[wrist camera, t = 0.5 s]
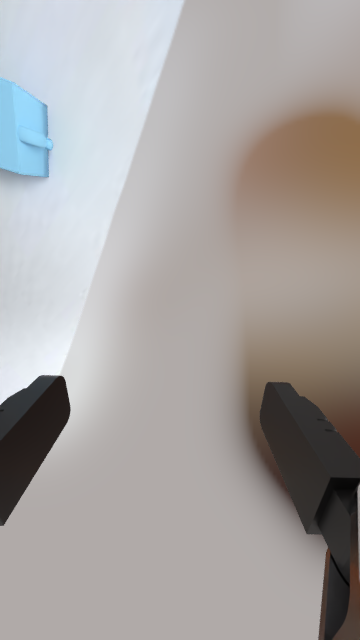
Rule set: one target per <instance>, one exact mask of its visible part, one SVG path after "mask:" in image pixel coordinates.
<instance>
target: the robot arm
mask: <svg viewBox="0 0 360 640" xmlns="http://www.w3.org/2000/svg"><path fill="white" fill-rule="evenodd" d="M69 416H70V403H69V397H68V392H67V388H66V382H65V379H64V377H63V376H51V375H41V376H39V377H38V378H37V379H36V380H35V381H34V382H33V383H32V384H30V385H29V386H28V387H27V388H24V389H22V390H21V391H19V392H17V393H15V394H14V395H12V396H10V397H9V398H7V399H6V400H5V401H4V402H3V403H2V404H1V405H0V526H3V525H4V524H5V522H6V521H7V519H8V517H9V516H10V514H11V513H12V511H13V509H14V507H15V506H16V505H17V503H18V501H19V500H20V498H21V496H22V495H23V493H24V492H25V490H26V488H27V487H28V485H29V484H30V482H31V480H32V478H33V477H34V475H35V474H36V472H37V471H38V469H39V467H40V466H41V464H42V462H43V461H44V459H45V458H46V456H47V454H48V453H49V451H50V450H51V448H52V446H53V444H54V443H55V441H56V440H57V438H58V437H59V435H60V433H61V431H62V430H63V429H64V427H65V425H66V423H67V422H68V419H69ZM260 423H261V427H262V430H263V432H264V435H265V437H266V440H267V442H268V444H269V447H270V449H271V451H272V454H273V456H274V458H275V461H276V463H277V465H278V468H279V470H280V472H281V475H282V477H283V479H284V481H285V484H286V486H287V488H288V491H289V493H290V496H291V498H292V500H293V503H294V505H295V507H296V510H297V512H298V514H299V517H300V519H301V522H302V524H303V526H304V529H305V531H306V533H307V534H322V535H323V537H324V539H325V541H326V543H327V545H328V548H327V551H326V557H325V569H324V580H323V591H322V602H321V615H320V625H319V637H318V640H360V458H359V457H358V456H357V454H356V453H355V452H354V451H353V450H352V449H351V447H350V446H349V445H348V444H347V442H346V441H345V440H344V439H343V437H342V436H341V435H340V434H339V433H338V432H336V429H335V427H334V426H333V425H332V424H331V423H330V422H328V419H327V418H326V416H325V415H324V414H323V413H322V411H321V410H320V409H319V408H318V407H317V406H316V405H315V404H313V403H312V402H311V401H309V400H308V399H307V398H305V397H301V396H299V395H298V393H297V392H296V391H295V389H294V388H293V387H292V386H291V384H290V383H284V382H268V383H267V384H266V387H265V391H264V396H263V401H262V405H261V410H260Z"/></svg>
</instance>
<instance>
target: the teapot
mask: <svg viewBox="0 0 360 640" xmlns="http://www.w3.org/2000/svg"><path fill="white" fill-rule="evenodd" d="M52 148H53V143H52V140H50V139H48V119H47V105H45V104H44V103H42V102H41V101H40V100H38V99H37V98H35V97H34V96H32V95H31V94H30V93H28V92H27V91H25V90H24V89H22V88H21V87H20V86H18V85H17V84H15V83H14V82H11V81H9V80H6V79H3V78H1V77H0V168H2V169H5V170H8V171H12V172H15V173H18V174H22V175H32V176H42V177H49V169H48V150H52Z"/></svg>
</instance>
